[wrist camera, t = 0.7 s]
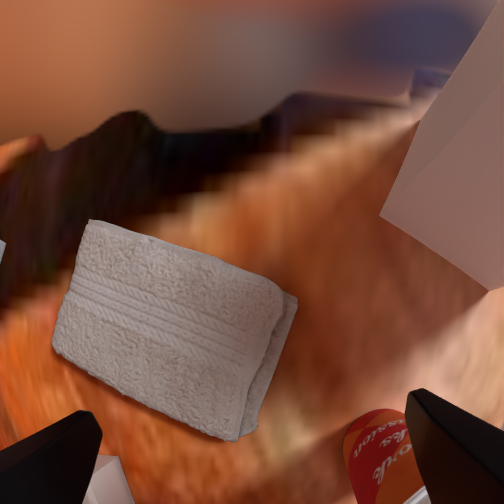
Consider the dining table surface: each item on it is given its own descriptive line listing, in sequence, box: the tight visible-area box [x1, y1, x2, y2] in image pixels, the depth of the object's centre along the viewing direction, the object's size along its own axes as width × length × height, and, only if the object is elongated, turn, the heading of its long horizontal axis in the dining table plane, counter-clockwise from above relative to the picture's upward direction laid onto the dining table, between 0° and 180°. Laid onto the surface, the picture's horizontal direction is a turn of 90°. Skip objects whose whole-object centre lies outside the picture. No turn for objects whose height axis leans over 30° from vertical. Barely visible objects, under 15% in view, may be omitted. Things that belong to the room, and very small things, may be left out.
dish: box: [83, 455, 135, 504], centre depth 17 cm, size 9×9×5 cm
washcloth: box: [52, 219, 298, 442], centre depth 21 cm, size 12×18×3 cm, turn 72°
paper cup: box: [343, 409, 431, 504], centre depth 12 cm, size 8×8×14 cm
